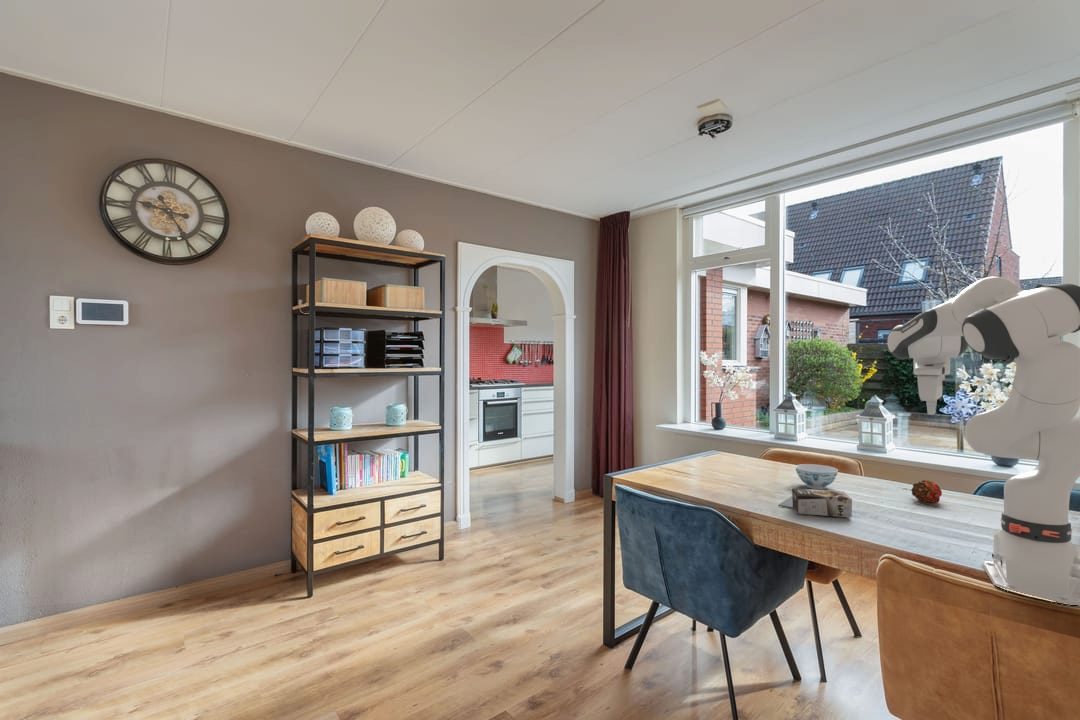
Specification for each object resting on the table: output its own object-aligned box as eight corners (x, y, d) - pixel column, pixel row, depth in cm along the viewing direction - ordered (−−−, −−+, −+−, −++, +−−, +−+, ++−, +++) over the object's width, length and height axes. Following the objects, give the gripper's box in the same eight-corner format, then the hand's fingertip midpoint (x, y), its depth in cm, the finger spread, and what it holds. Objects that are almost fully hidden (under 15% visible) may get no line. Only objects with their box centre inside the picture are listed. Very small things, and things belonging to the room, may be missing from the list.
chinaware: (825, 482, 212) (824, 464, 212) (845, 492, 197) (845, 472, 197) (788, 482, 212) (788, 464, 212) (806, 492, 197) (806, 472, 197)
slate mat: (832, 516, 168) (832, 514, 168) (778, 506, 179) (778, 504, 179) (843, 507, 178) (843, 505, 178) (791, 498, 189) (791, 496, 189)
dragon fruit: (923, 510, 178) (924, 507, 188) (948, 498, 175) (948, 496, 184) (906, 488, 182) (907, 486, 192) (930, 476, 179) (930, 475, 188)
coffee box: (852, 498, 164) (797, 495, 168) (852, 518, 164) (797, 514, 168) (843, 490, 173) (791, 487, 177) (843, 509, 173) (791, 505, 177)
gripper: (923, 367, 164) (923, 410, 164) (913, 369, 149) (913, 416, 149) (948, 367, 159) (948, 411, 160) (941, 369, 145) (941, 418, 145)
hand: (931, 414), depth 154 cm, fingers closed
